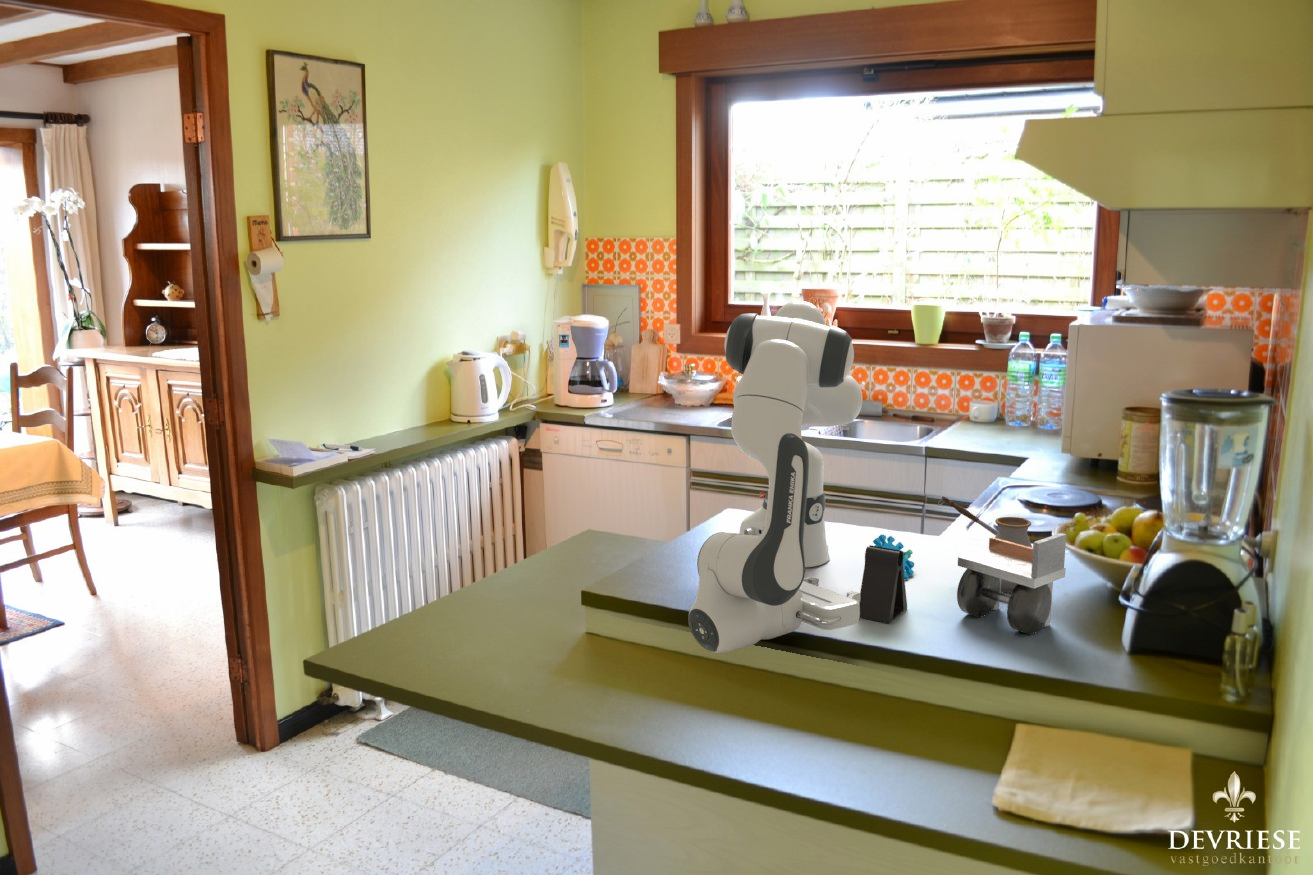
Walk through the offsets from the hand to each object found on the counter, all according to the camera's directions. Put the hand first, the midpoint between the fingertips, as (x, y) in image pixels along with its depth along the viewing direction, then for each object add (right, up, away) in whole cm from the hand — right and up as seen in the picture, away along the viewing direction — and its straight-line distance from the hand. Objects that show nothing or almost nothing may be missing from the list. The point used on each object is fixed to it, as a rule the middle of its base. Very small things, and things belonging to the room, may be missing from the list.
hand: (836, 589), depth 172 cm
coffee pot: (+33, -2, +25) cm, 42 cm away
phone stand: (+10, -6, +9) cm, 14 cm away
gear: (+17, -2, +29) cm, 33 cm away
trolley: (+31, -6, +4) cm, 31 cm away
